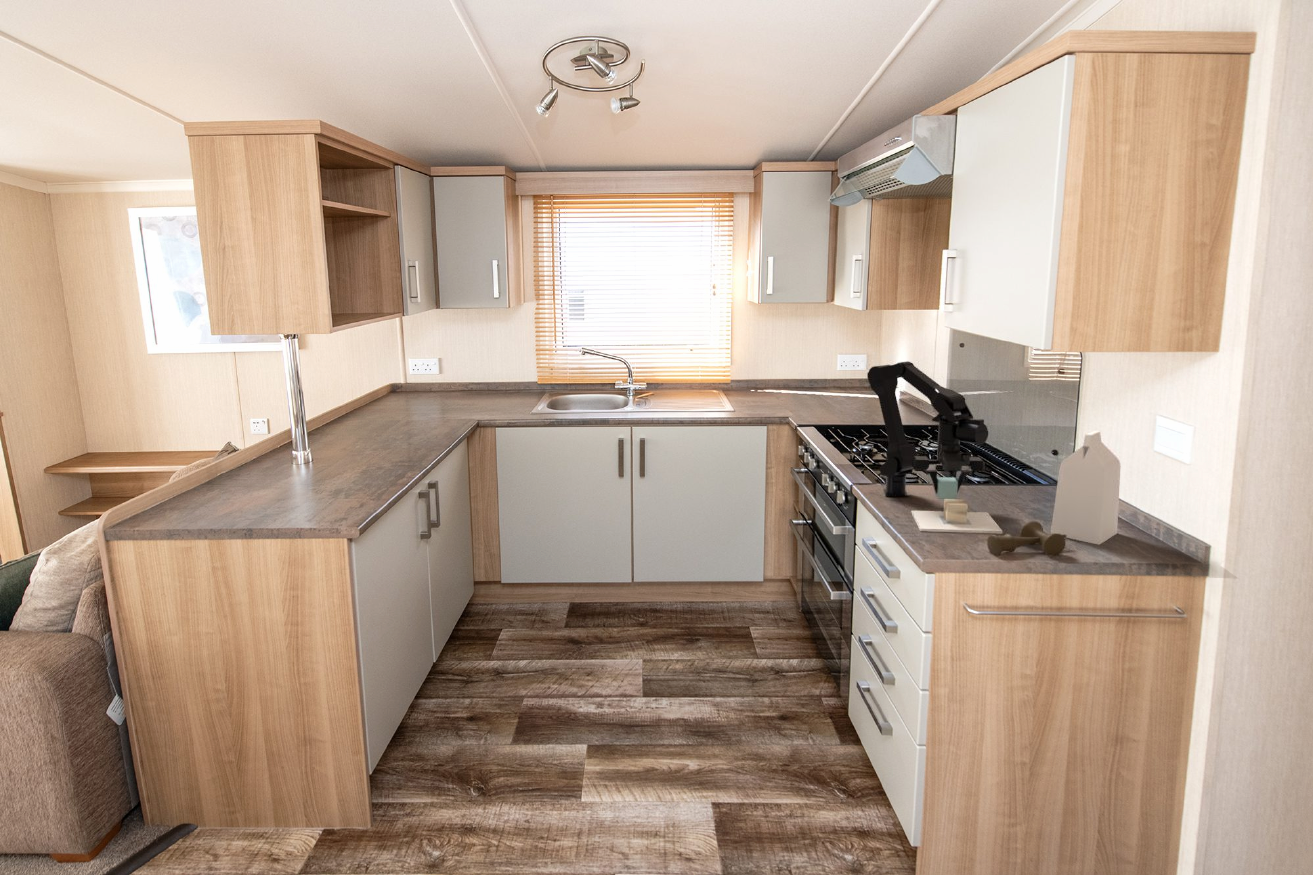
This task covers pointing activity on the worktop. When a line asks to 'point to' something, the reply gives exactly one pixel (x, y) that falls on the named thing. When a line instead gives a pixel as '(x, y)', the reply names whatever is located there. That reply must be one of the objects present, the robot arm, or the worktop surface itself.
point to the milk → (1088, 493)
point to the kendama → (1027, 540)
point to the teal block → (946, 488)
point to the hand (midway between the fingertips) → (946, 493)
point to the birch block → (955, 510)
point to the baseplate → (937, 523)
